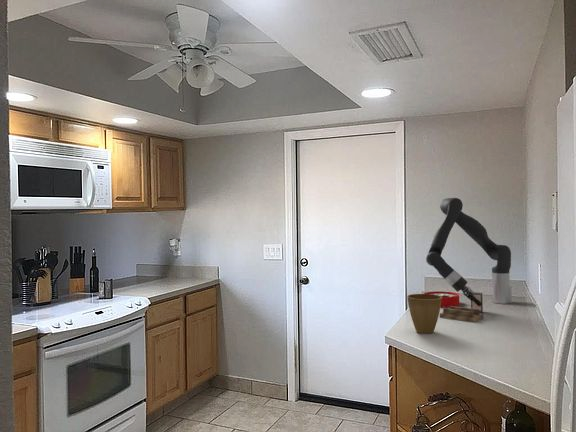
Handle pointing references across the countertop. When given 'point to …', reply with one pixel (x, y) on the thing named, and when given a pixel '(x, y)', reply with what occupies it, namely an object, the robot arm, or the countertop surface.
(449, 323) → the countertop surface
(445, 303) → the toy clock
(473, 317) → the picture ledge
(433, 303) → the plant pot
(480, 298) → the dark grey cuboid
